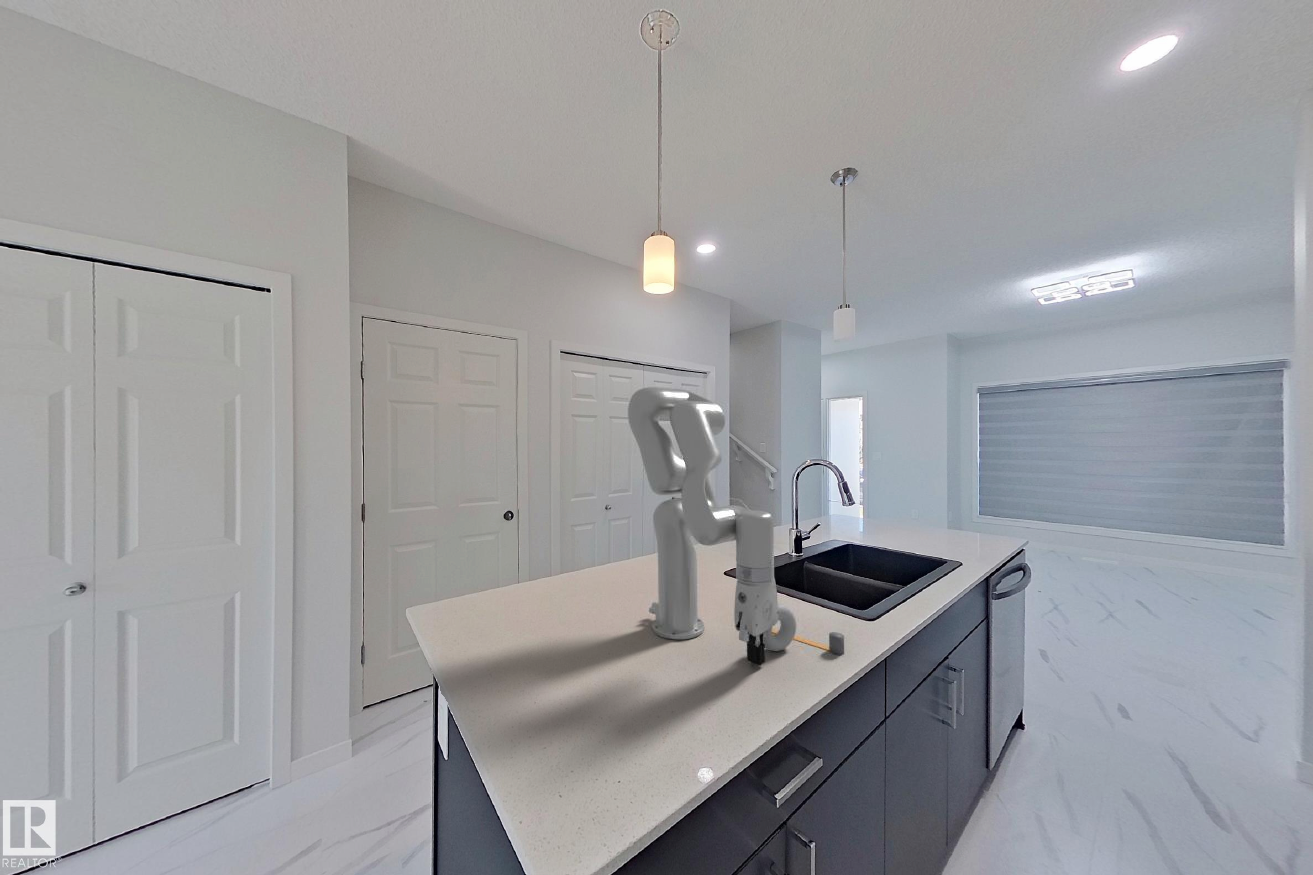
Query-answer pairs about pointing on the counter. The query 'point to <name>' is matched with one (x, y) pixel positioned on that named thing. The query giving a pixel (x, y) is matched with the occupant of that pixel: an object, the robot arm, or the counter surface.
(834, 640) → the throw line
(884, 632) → the counter surface
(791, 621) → the donut
